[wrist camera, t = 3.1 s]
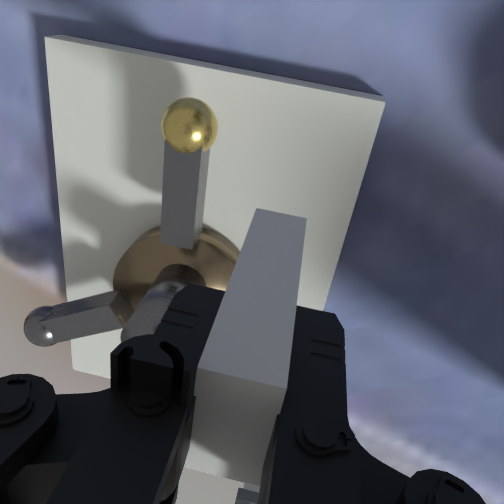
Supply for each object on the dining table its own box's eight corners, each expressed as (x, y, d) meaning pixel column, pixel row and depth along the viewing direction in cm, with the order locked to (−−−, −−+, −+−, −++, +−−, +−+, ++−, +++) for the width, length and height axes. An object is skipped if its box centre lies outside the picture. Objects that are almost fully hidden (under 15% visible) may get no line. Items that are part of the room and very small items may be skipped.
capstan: (23, 51, 21) (-89, 70, 15) (402, 125, 20) (428, 174, 14) (52, 311, 29) (-15, 384, 23) (320, 375, 28) (316, 467, 22)
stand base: (61, 34, 22) (-146, 60, 12) (382, 95, 21) (419, 175, 11) (83, 355, 33) (-17, 494, 24) (291, 405, 32) (271, 572, 23)
